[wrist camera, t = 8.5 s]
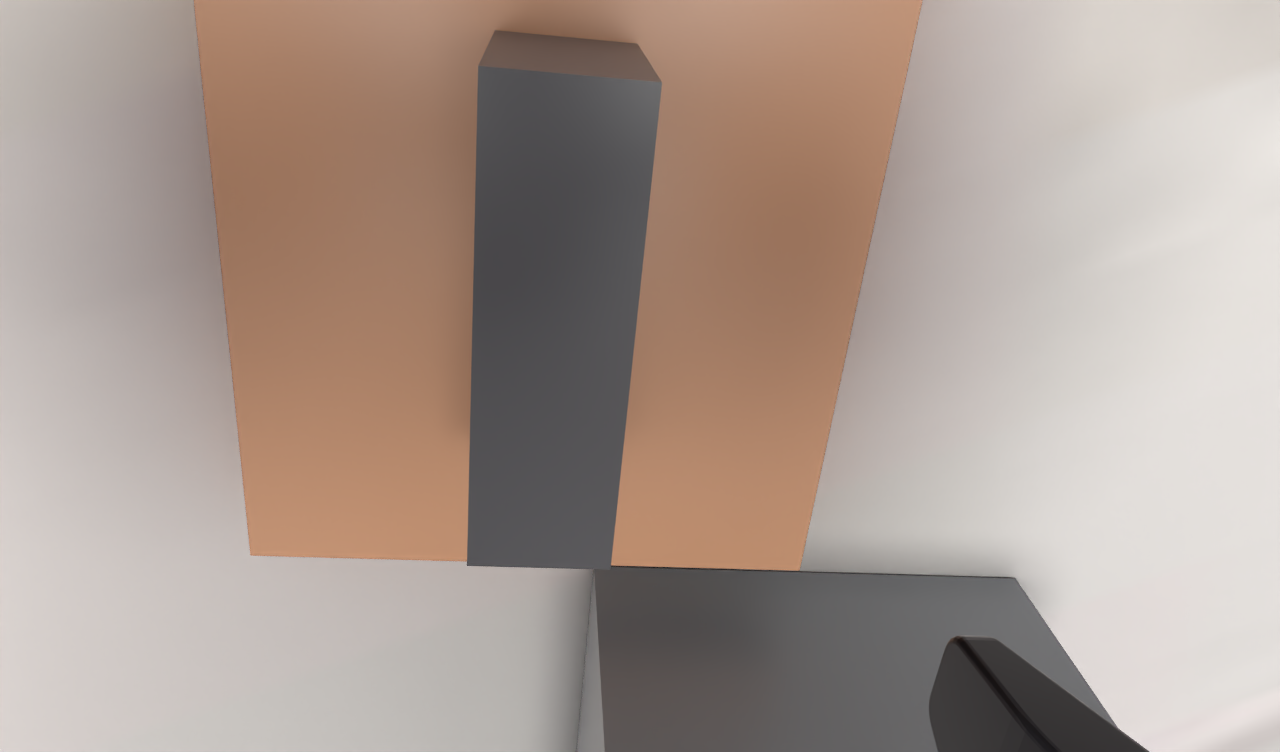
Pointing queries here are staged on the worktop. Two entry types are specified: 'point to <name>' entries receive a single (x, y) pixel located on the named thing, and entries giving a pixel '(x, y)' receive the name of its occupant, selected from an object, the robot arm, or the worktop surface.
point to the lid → (544, 268)
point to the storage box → (788, 658)
